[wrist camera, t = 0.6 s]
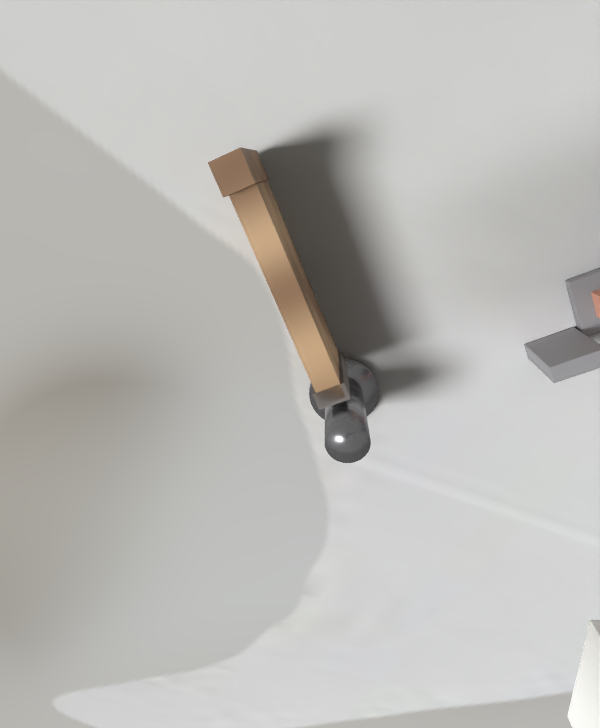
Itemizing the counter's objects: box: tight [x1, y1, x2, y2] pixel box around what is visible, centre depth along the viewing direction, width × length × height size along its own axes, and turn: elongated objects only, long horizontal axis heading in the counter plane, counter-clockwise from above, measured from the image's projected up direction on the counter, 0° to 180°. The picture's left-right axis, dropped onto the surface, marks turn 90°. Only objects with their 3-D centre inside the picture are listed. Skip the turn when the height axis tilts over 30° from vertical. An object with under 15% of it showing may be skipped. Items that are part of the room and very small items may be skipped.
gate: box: [208, 148, 351, 410], centre depth 28 cm, size 14×2×6 cm, turn 23°
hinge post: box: [309, 358, 378, 463], centre depth 31 cm, size 4×4×7 cm
